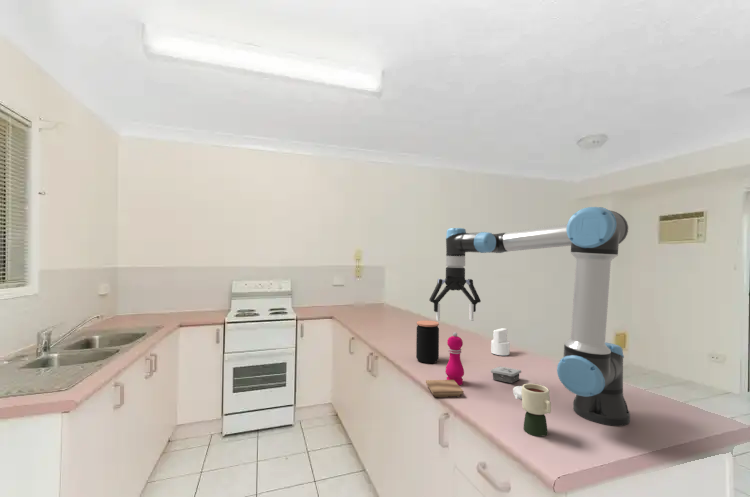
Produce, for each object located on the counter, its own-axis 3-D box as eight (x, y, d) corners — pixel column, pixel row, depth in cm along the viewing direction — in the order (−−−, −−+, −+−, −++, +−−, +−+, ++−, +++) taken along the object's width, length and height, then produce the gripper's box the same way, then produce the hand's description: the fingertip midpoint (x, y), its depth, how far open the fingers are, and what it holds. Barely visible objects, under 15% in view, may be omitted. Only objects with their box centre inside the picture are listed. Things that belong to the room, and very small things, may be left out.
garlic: (537, 403, 118) (537, 392, 118) (517, 403, 119) (518, 392, 119) (528, 394, 126) (528, 383, 126) (510, 393, 127) (510, 383, 127)
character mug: (560, 441, 94) (560, 394, 94) (539, 445, 92) (539, 397, 92) (531, 422, 104) (532, 379, 105) (512, 425, 102) (512, 382, 102)
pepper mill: (467, 384, 134) (468, 333, 134) (452, 387, 131) (452, 335, 132) (456, 378, 141) (457, 329, 141) (441, 380, 138) (442, 331, 138)
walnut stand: (463, 398, 121) (463, 391, 121) (433, 399, 121) (433, 391, 121) (453, 386, 132) (453, 379, 132) (425, 386, 131) (425, 380, 132)
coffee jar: (442, 359, 166) (442, 322, 166) (433, 365, 157) (433, 325, 157) (421, 355, 172) (422, 319, 172) (412, 361, 163) (412, 323, 163)
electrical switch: (513, 374, 133) (490, 365, 140) (511, 387, 133) (488, 378, 140) (522, 370, 140) (500, 362, 146) (520, 382, 140) (498, 374, 147)
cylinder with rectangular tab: (496, 349, 184) (497, 327, 185) (512, 353, 178) (512, 330, 178) (487, 352, 179) (487, 329, 179) (503, 356, 172) (503, 332, 172)
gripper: (481, 266, 141) (481, 318, 141) (422, 266, 139) (421, 318, 139) (489, 267, 134) (488, 322, 134) (426, 266, 132) (426, 322, 132)
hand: (454, 320), depth 137 cm, fingers open, 13 cm apart
